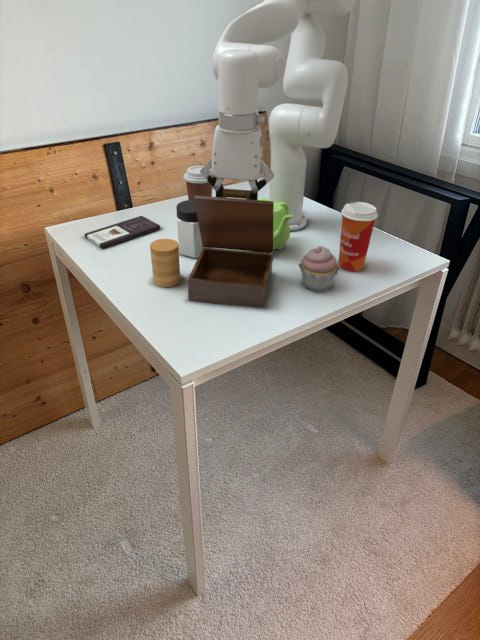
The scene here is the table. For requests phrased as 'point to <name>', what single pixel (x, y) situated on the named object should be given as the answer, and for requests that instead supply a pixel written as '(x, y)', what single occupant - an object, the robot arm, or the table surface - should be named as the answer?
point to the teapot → (280, 224)
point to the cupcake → (318, 269)
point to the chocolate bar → (122, 231)
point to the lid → (236, 221)
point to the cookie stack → (165, 262)
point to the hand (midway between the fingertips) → (236, 207)
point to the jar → (188, 229)
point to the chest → (231, 277)
